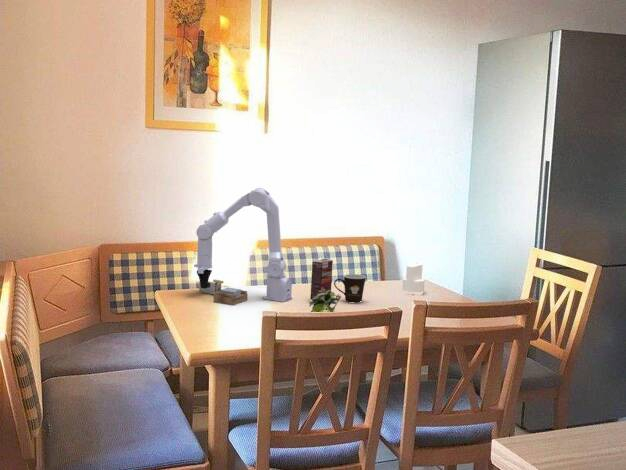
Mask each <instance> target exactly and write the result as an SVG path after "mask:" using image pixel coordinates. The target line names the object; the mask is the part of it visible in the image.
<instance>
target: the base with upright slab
mask: <svg viewBox="0 0 626 470" xmlns="http://www.w3.org/2000/svg"><path fill="white" fill-rule="evenodd" d="M402 279H403V280H402V289H403V290H404V291H408V292H422V291H424V292H425V278H423V263H414V264H413V263H412V264H408V265H407V266H406V275H405V277H402Z"/></svg>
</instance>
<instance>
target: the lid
mask: <svg viewBox="0 0 626 470" xmlns="http://www.w3.org/2000/svg"><path fill="white" fill-rule="evenodd" d="M241 290H242V289H241V288H234V287H224V288H223V289H222V288H221V293H227V294H234V295H236V296H238V295H241Z"/></svg>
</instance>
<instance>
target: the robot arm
mask: <svg viewBox="0 0 626 470" xmlns="http://www.w3.org/2000/svg"><path fill="white" fill-rule="evenodd" d="M251 205H252V206H254V207H256V208H259V209H261V210H262V211H263V212H265V213H266V223H267V227H266V228H267V236H268V237H267V238H268V253H269V255H268V265H267V267H266V270H267V274H266V295H263V297H261V298H262V299H263V300H270V301H276V302H283V303H284V302H287V301H288V300H291V299H293V297H292V291H293V287H292V286H293V282H292V279H291V278H289V277H287V276H286V274H285V272H284V271H285V270H286V267H287V264H286V261H285V260H284V254H283V252H282V239H281V226H280V225H281V223H280V213H279V212H280V210H279V205H278V203H277V202H276V200H275V199H274V198H273V197H272V195H271V194H270V192H269V191H267V190H266V189H264V188H262V187H257V188H255V189H252V190H251V191H250V192H248V193H246V194H244V195H243V196H241V197H239V199H237V200H236V201H235V202H234V203H232V204H231V205H230V206H229V207H228V208H226V210H224V211H215V212H214V213H213V214H212V216H211V217H210V218H208V220H207V219H206V220H204V221H203V224H200V225H199V226H198V227H197V229H196V232H195V233H196V236H197V248H196V249H197V250H196V251H197V253H196V255H197V259H196V261H197V262H196V264H194V265H193V267H194V268H196V269H197V270H196V275H197V276H198V279H199V281H200V286H201V288H205V289H206V288H207V285H208V281H209V279H210V276H211V274H212V272H213V270H212V268H213V265H212V264H213V236H214V234H215V233H217V232H218V231H220V230H221V229H223V227H225V226H226V225H228V223H229V218H230V217H233V215H235V214H236V213H238V212H239V211H240V210H241V209H242V208H243V209H244V207H250V206H251Z"/></svg>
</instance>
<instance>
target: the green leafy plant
mask: <svg viewBox="0 0 626 470" xmlns="http://www.w3.org/2000/svg"><path fill="white" fill-rule="evenodd" d="M317 294H318V295H317V296H315V298H313V299H312V301H309V302H308V304H309V307H311V306H312V307H311V308H312V309H311V311H310V312H322V313H323V312H325V311H328V312H329V313H330V312H334V311H335V309H336V306H337V305H338V303H339V301H340V300H341V299H342V296H341V294H335V291H332V289H331V290H328V291H327V290H324V289H322V290H321V291H319V290H318V291H317ZM331 305H334V306H333V307H331Z"/></svg>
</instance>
